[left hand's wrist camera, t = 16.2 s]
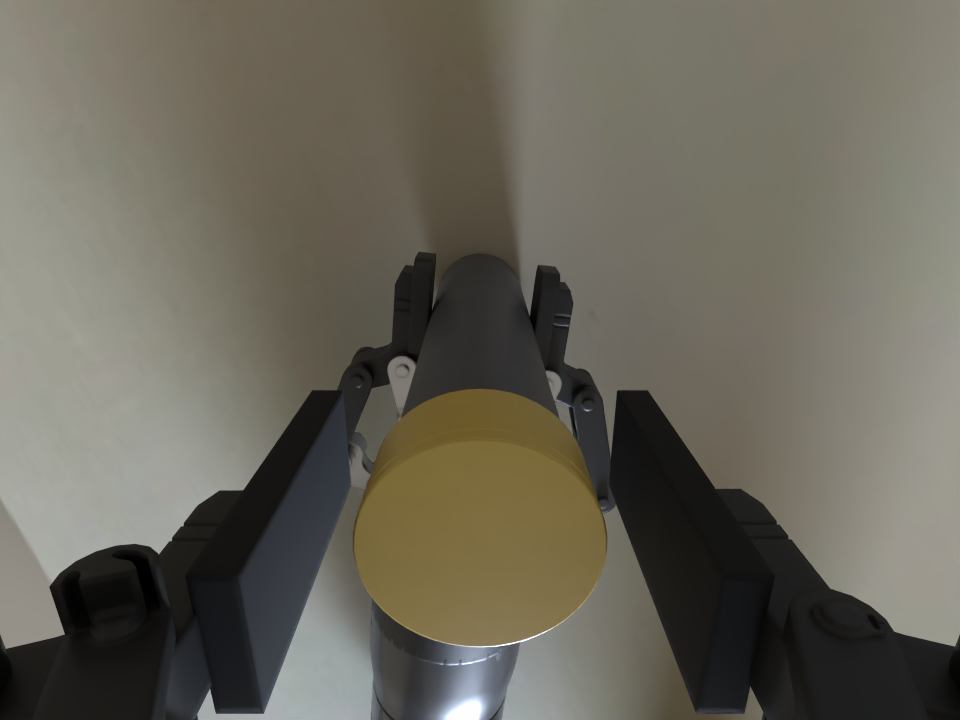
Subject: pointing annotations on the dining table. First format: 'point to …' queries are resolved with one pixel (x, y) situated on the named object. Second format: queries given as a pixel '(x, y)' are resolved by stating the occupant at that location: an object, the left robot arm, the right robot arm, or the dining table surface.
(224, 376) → the dining table surface
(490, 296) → the dark gray cylinder
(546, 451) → the lid
